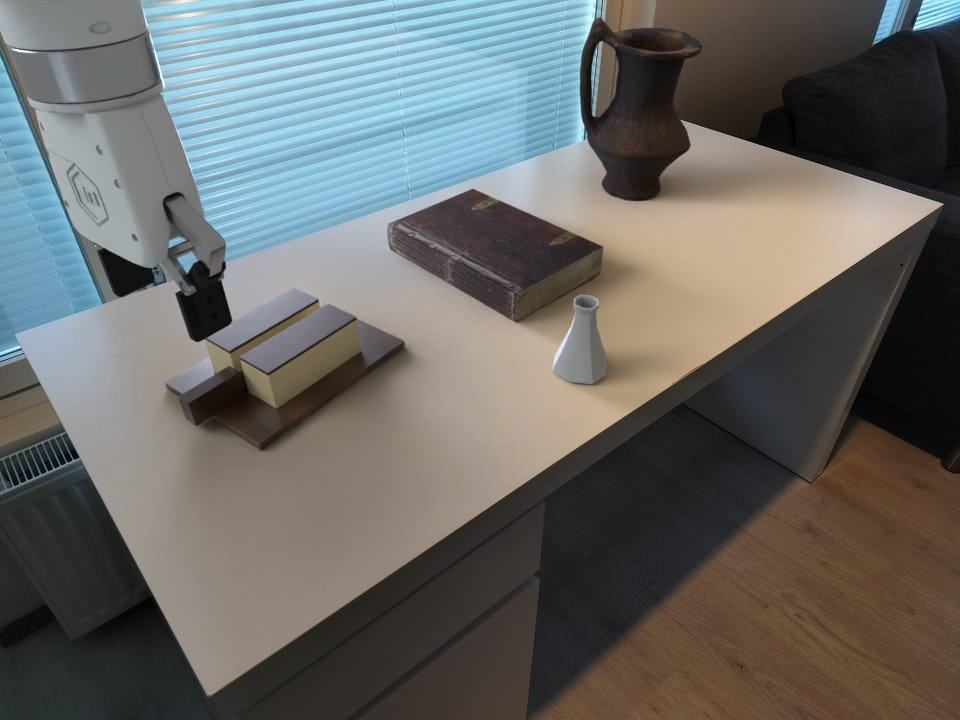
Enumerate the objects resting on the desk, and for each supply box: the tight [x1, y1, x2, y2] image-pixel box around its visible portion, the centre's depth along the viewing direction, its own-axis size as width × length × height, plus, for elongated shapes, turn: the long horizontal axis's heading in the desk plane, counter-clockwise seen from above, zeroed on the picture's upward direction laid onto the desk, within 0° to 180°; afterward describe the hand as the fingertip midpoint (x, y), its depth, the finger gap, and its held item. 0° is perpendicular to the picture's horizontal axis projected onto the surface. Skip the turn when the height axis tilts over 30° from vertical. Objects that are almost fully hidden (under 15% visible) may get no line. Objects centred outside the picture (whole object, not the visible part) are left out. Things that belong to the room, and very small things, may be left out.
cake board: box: [164, 300, 406, 451], centre depth 88 cm, size 24×18×1 cm
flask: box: [551, 294, 608, 385], centre depth 84 cm, size 7×7×10 cm
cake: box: [203, 286, 361, 409], centre depth 86 cm, size 14×12×5 cm
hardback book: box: [386, 188, 604, 323], centre depth 107 cm, size 29×19×5 cm, turn 43°
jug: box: [579, 16, 703, 201], centre depth 122 cm, size 21×18×30 cm
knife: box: [177, 366, 248, 427], centre depth 82 cm, size 15×2×4 cm, turn 143°
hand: (172, 309), depth 51 cm, fingers open, 9 cm apart
